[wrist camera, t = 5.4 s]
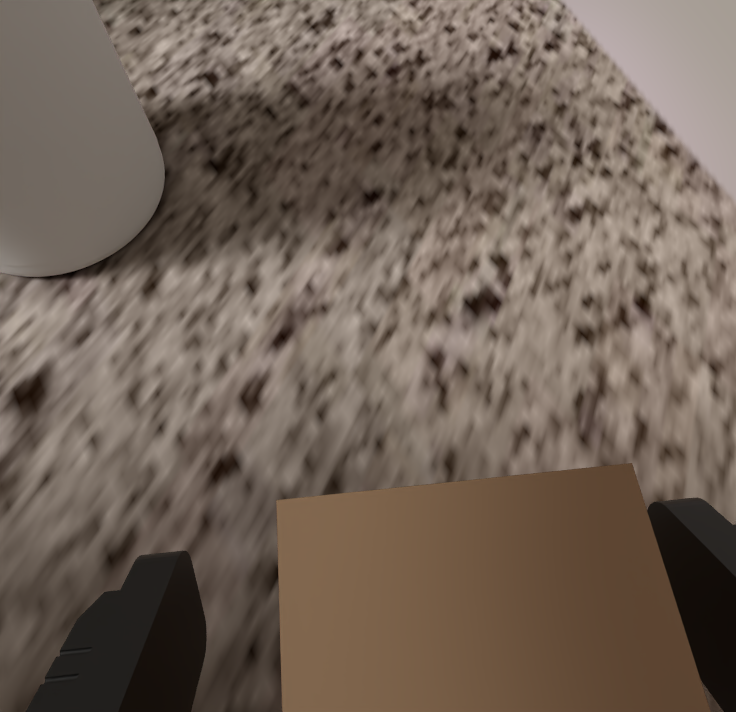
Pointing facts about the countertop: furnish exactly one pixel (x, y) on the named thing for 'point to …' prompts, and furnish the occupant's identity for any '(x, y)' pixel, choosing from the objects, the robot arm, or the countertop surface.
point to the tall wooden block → (481, 599)
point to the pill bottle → (69, 141)
